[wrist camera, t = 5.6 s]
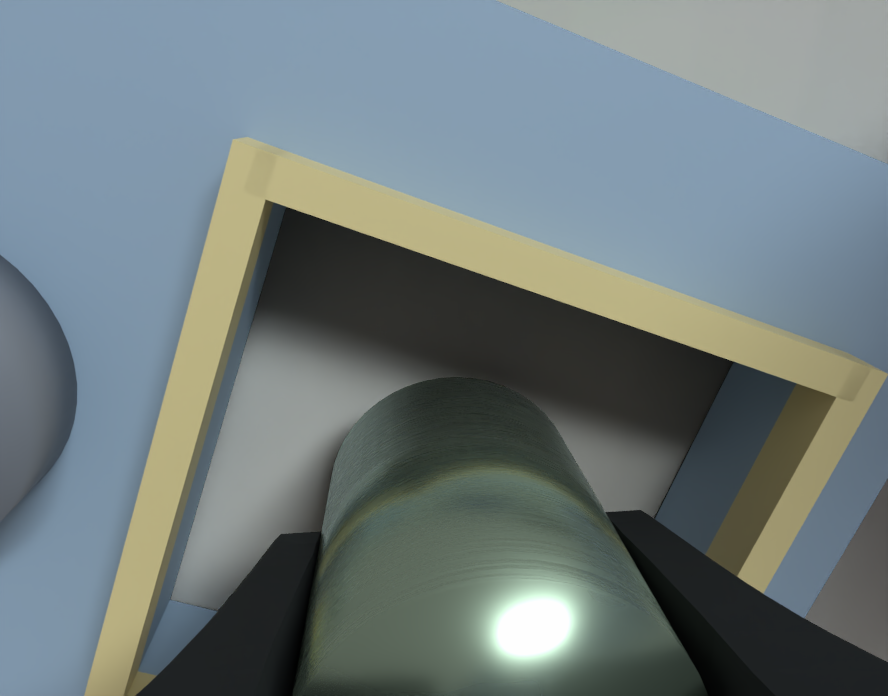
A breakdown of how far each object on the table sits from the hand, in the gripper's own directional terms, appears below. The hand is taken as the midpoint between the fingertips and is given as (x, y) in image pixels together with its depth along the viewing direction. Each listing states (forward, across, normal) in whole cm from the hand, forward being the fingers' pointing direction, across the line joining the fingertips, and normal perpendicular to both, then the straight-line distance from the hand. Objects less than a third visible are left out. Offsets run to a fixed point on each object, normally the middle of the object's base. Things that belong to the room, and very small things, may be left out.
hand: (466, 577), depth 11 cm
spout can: (+2, 0, 0) cm, 2 cm away
